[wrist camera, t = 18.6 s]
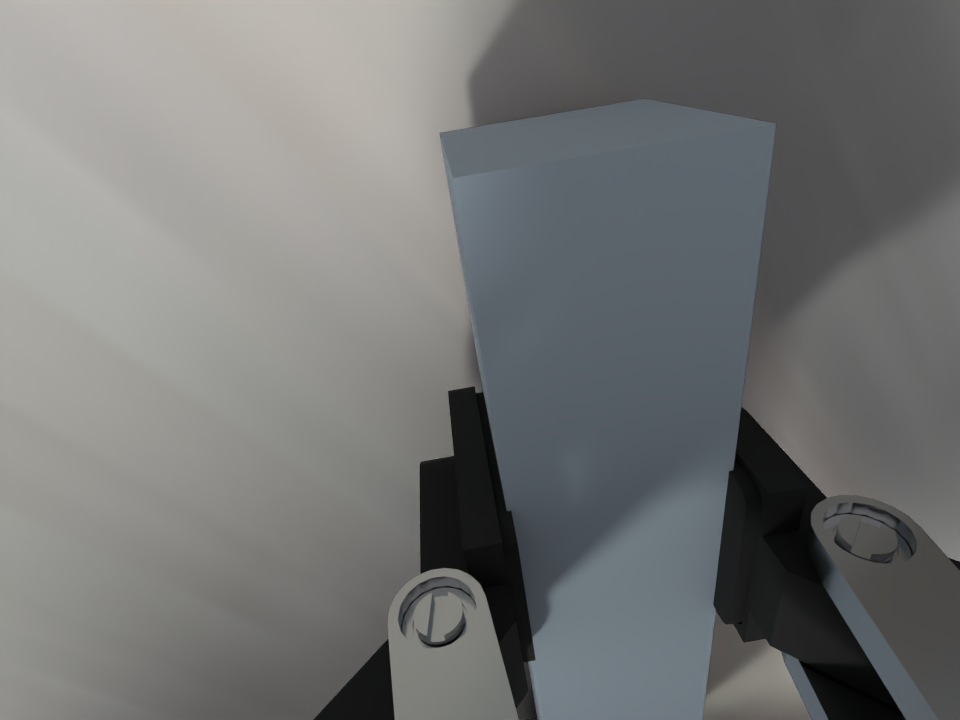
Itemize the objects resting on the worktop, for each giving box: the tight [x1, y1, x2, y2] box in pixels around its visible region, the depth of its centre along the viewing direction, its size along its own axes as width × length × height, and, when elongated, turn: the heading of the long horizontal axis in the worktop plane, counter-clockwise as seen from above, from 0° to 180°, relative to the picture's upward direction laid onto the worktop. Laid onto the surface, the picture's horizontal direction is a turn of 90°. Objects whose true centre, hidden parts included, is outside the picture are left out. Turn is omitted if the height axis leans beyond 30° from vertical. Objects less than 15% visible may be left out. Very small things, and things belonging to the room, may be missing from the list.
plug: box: [440, 99, 776, 720], centre depth 11 cm, size 22×5×5 cm, turn 8°
